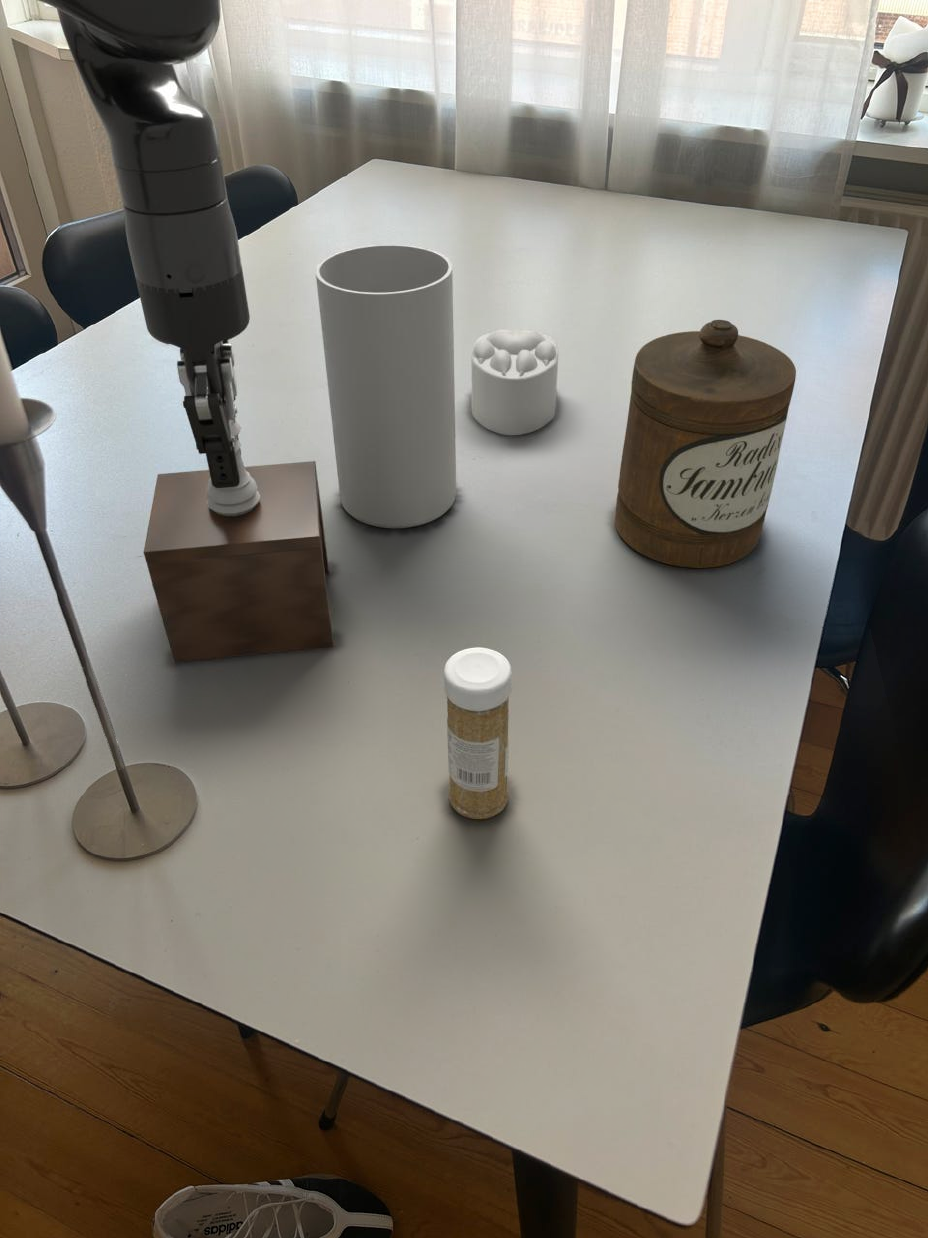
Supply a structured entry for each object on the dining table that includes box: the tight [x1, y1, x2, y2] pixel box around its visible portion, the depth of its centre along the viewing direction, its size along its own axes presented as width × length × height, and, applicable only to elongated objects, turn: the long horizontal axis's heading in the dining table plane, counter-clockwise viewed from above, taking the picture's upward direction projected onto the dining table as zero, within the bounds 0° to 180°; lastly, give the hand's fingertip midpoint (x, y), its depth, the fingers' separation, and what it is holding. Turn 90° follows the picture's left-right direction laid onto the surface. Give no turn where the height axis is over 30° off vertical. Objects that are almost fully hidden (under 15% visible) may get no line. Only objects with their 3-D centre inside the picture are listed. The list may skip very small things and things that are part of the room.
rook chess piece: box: [206, 417, 260, 516], centre depth 80 cm, size 4×4×8 cm
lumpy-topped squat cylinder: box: [471, 329, 559, 436], centre depth 117 cm, size 10×13×9 cm
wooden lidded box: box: [143, 460, 335, 663], centre depth 86 cm, size 14×12×12 cm
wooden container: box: [614, 319, 797, 569], centre depth 93 cm, size 15×15×22 cm
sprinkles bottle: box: [443, 647, 513, 820], centre depth 68 cm, size 5×5×14 cm
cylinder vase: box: [315, 243, 457, 529], centre depth 96 cm, size 12×12×25 cm
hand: (227, 471), depth 80 cm, fingers closed on rook chess piece, 3 cm apart
